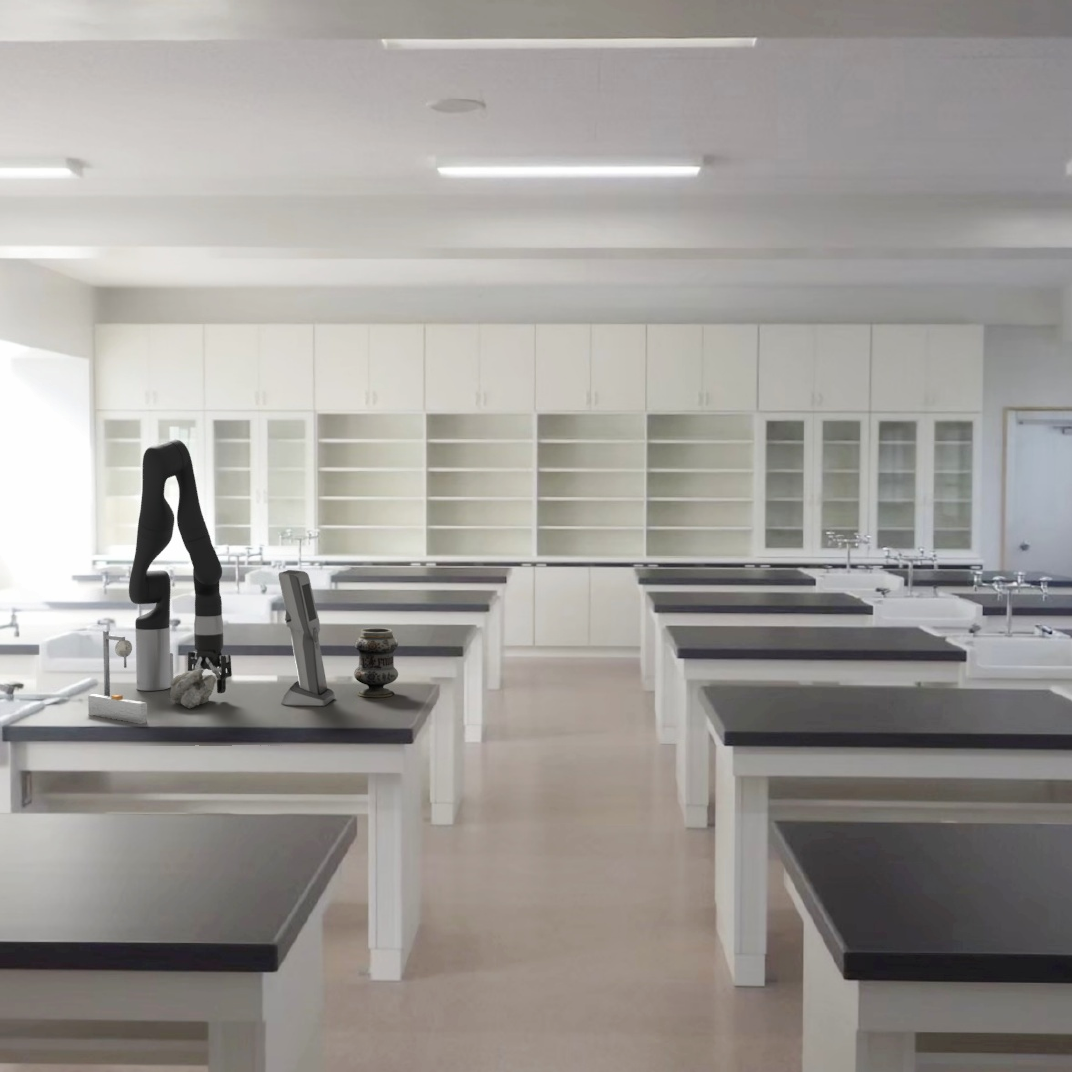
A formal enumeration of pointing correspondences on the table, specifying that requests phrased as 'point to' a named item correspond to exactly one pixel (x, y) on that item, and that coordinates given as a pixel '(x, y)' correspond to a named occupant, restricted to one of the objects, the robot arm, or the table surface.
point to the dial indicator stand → (121, 650)
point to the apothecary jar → (376, 661)
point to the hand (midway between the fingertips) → (209, 691)
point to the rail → (118, 708)
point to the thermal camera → (304, 642)
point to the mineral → (192, 688)
